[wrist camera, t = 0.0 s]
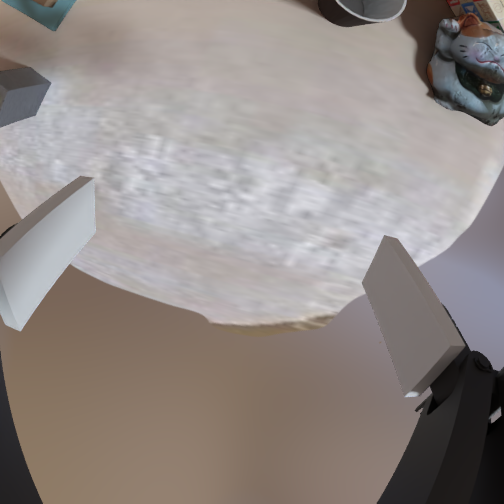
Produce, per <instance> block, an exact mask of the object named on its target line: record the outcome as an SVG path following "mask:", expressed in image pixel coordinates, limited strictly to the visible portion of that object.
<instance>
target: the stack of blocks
mask: <svg viewBox="0 0 504 504" xmlns="http://www.w3.org/2000/svg"><path fill="white" fill-rule="evenodd" d="M446 1H447V2H448V4H449V5H450V7H451V9H452V11H453V13H454V14H455V16H456V17H457V16H459V15H462V14H467V13H474V14H476V15H477V16H478V19H479V20H480V21H481V22H488V23H489V24H491V25H493V26H494V27H496V28H497V29H499V30H502V31H504V0H446Z"/></svg>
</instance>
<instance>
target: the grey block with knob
mask: <svg viewBox="0 0 504 504" xmlns="http://www.w3.org/2000/svg"><path fill="white" fill-rule="evenodd" d="M50 85H51V82H49V81H48V80H47V79H45V78H44V77H43V76H41V75H40V74H39V73H37V72H36V71H35V70H33V69H32V68H31V67H29V68H20V69H12V70H5V71H0V127H3V126H6V125H9V124H11V123H14V122H17V121H20V120H23V119H26V118H29V117H32V116H35V115H36V114H37V111H38V109H39V107H40V105H41V103H42V101H43V99H44V97H45V95H46V92H47V90H48V89H49V87H50Z"/></svg>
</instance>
